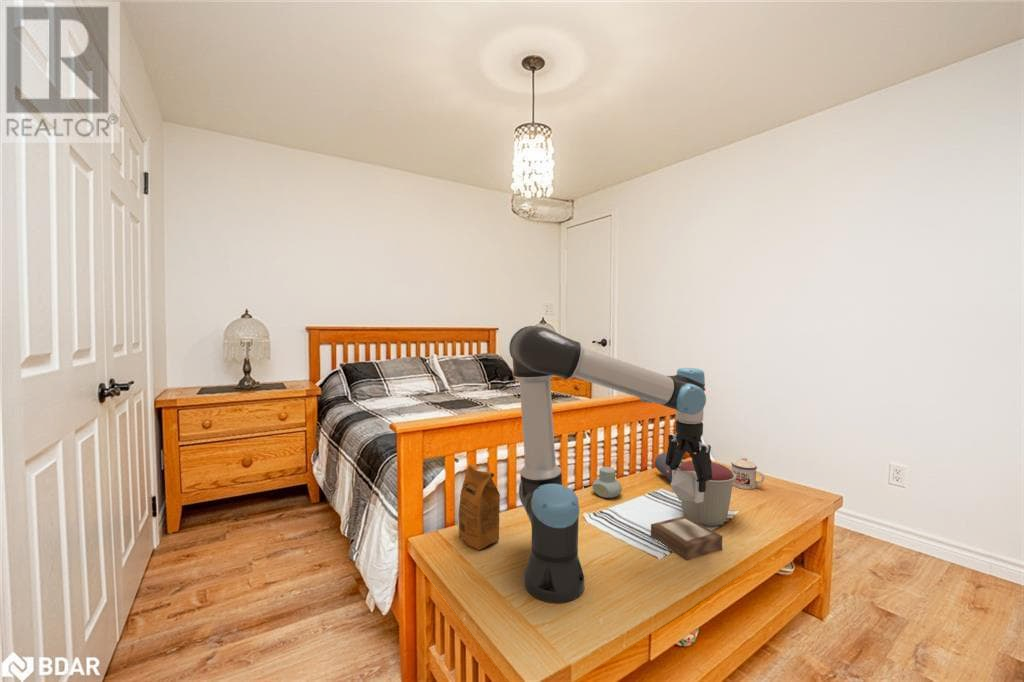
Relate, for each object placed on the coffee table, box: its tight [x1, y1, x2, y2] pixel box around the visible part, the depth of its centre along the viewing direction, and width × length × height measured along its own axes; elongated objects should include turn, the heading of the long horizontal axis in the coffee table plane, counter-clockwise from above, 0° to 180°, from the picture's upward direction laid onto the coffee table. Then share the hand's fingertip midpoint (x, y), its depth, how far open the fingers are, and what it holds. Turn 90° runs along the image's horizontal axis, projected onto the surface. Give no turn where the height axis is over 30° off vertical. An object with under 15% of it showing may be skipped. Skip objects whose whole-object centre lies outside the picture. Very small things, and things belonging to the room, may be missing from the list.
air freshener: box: [591, 466, 623, 499], centre depth 162 cm, size 11×8×10 cm
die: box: [669, 471, 698, 502], centre depth 127 cm, size 8×9×10 cm
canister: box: [677, 458, 736, 527], centre depth 143 cm, size 18×18×21 cm
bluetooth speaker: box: [654, 452, 684, 483], centre depth 173 cm, size 23×9×10 cm, turn 10°
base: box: [650, 515, 723, 561], centre depth 128 cm, size 14×14×4 cm
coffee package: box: [457, 463, 501, 551], centre depth 129 cm, size 10×12×22 cm
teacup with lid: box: [730, 456, 765, 491], centre depth 171 cm, size 12×9×12 cm
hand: (687, 496), depth 127 cm, fingers closed on die, 8 cm apart
